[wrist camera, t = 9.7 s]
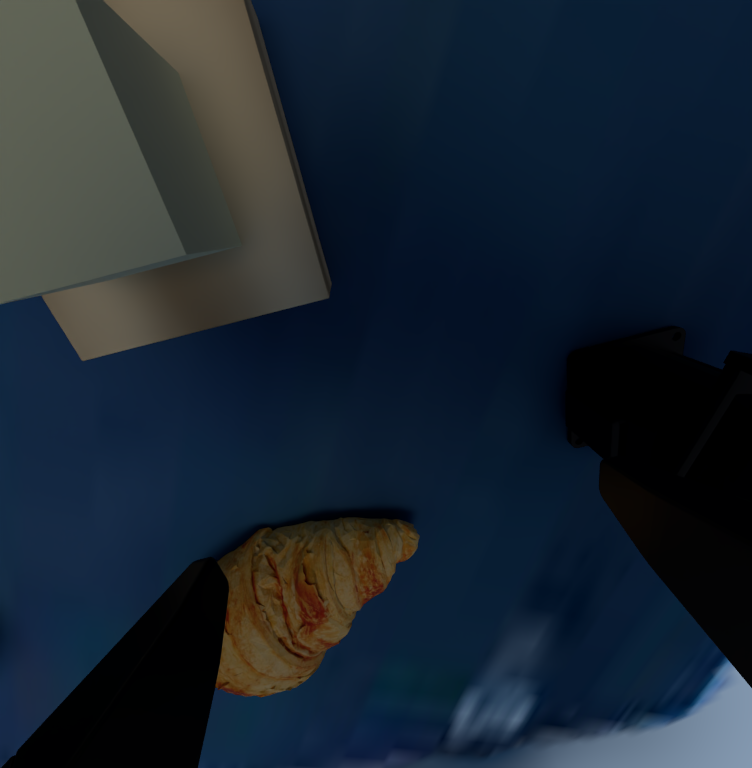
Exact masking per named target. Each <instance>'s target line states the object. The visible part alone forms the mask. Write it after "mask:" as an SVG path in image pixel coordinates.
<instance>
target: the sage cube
mask: <svg viewBox="0 0 752 768" xmlns="http://www.w3.org/2000/svg"><path fill="white" fill-rule="evenodd" d="M239 246H242V244H241V241H240V238H239V236H238V233H237V230H236V228H235V225H234V222H233V219H232V217H231V214H230V211H229V209H228V206H227V203H226V201H225V198H224V195H223V192H222V190H221V187H220V184H219V182H218V179H217V176H216V173H215V171H214V168H213V165H212V163H211V160H210V157H209V155H208V152H207V149H206V146H205V144H204V141H203V138H202V136H201V133H200V130H199V128H198V125H197V122H196V119H195V117H194V114H193V111H192V109H191V106H190V103H189V100H188V98H187V95H186V92H185V90H184V87H183V84H182V82H181V79H180V76H179V73H178V72H177V71H176V70H175V69H174V68H173V67H172V66H171V65H170V64H169V63H168V62H167V61H165V60H164V59H163V58H162V57H161V56H160V55H159V54H158V53H157V52H156V51H155V50H154V49H153V48H152V47H151V46H150V45H149V44H148V43H147V42H146V41H145V40H144V39H143V38H142V37H141V36H140V35H138V34H137V33H136V32H135V31H134V30H133V29H132V28H131V27H130V26H129V25H128V24H127V23H126V22H125V21H124V20H123V19H122V18H121V17H120V16H119V15H118V14H117V13H116V12H115V11H114V10H113V9H111V8H110V7H109V6H108V5H107V4H106V3H105V2H104V1H103V0H0V304H4V303H8V302H13V301H18V300H22V299H27V298H31V297H36V296H40V295H45V294H50V293H54V292H59V291H63V290H68V289H72V288H77V287H82V286H86V285H91V284H95V283H100V282H104V281H109V280H113V279H117V278H121V277H124V276H128V275H132V274H136V273H140V272H144V271H147V270H151V269H155V268H159V267H163V266H167V265H170V264H174V263H178V262H182V261H186V260H190V259H193V258H197V257H201V256H205V255H209V254H213V253H216V252H220V251H224V250H228V249H232V248H235V247H239Z"/></svg>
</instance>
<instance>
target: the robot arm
mask: <svg viewBox="0 0 752 768" xmlns="http://www.w3.org/2000/svg"><path fill="white" fill-rule="evenodd" d="M674 334H675V335H674ZM673 335H674V337H673ZM685 335H686V333H685V330H684V329H683V328H680V327H677V326H670V327H666V328H662V329H658V330H654V331H650V332H646V333H643V334H639V335H635V336H631V337H627V338H623V339H619V340H615V341H611V342H607V343H603V344H599V345H595V346H591V347H587V348H583V349H579V350H575V351H573V352H572V353H571V354H570V355H569V356H568V360H567V390H566V426H567V427H568V442H569V443H570V444H571V445H572V446H573V447H575V448H580V447H584V446H589V447H591V448H592V449H593V450H594V451H595V452H596V453H597V454H599V455H600V456H601V457H602V458H603V460H602V461H601V463H600V474H599V490H600V493H601V496H602V498H603V499H604V501H605V502H606V504H607V505H608V506H609V508H610V509H611V511H612V512H613V514H614V515H615V517H616V518H617V520H618V521H619V522H620V524H621V525H622V527H623V528H624V530H625V531H626V533H627V534H628V536H629V537H630V538H631V540H632V541H633V543H634V544H635V546H636V547H637V549H638V550H639V552H640V553H641V554H642V556H643V557H644V558H645V560H646V561H647V562H648V564H649V565H650V566H651V567H652V569H653V570H654V571H655V572H656V574H657V575H658V576H659V577H660V578H661V580H662V581H663V582H664V583H665V584H666V586H667V587H668V588H669V589H670V590H671V592H672V593H673V594H674V595H675V596H676V598H677V599H678V600H679V601H680V602H681V604H682V605H683V606H684V607H685V608H686V610H687V611H688V612H689V613H690V614H691V616H692V617H693V618H694V619H695V620H696V622H697V623H698V624H699V625H700V626H701V628H702V629H703V630H704V631H705V632H706V634H707V635H708V636H709V637H710V638H711V640H712V641H713V642H714V643H715V644H716V646H717V647H718V648H719V649H720V650H721V652H722V653H723V654H724V655H725V656H726V658H727V659H728V660H729V661H730V662H731V664H732V665H733V666H734V667H735V668H736V670H737V671H738V672H739V673H740V674H741V676H742V677H743V678H744V679H745V680H746V682H747V683H748V684H749V685H750V687H751V688H752V354H749V353H743V352H737V351H730V352H729V354H728V356H727V357H726V359H725V361H724V362H723V363H725V364H726V365H725V366H724V368H723V370H722V369H719V368H716V367H714V366H711V365H708V364H705V363H703V362H700V361H697V360H694V359H692V358H689V357H686V356H684V355H683V349H684V342H685ZM672 337H673V338H672ZM578 357H580V360H579V361H578V362H576V359H577V358H578ZM578 438H579V439H578ZM577 439H578V440H577ZM576 440H577V441H576ZM228 597H229V583H228V580H227V578H226V576H225V574H224V573H223V571H222V569H221V568H220V566H219V565H218V563H217V561H216V560H215V559H214V558H212V557H208V558H204V559H200V560H196V561H194V562H193V563H192V564H190V565H189V567H188V568H187V569H186V570H185V571H184V572H183V573H182V574H181V575H180V576H179V577H178V578H177V579H176V581H175V582H174V583H173V584H172V585H171V586H170V587H169V588H168V589H167V590H166V591H165V592H164V593H163V594H162V596H161V597H160V598H159V599H158V600H157V601H156V602H155V603H154V604H153V605H152V606H151V607H150V608H149V610H148V611H147V612H146V613H145V614H144V615H143V616H142V617H141V618H140V619H139V620H138V621H137V622H136V624H135V625H134V626H133V627H132V628H131V629H130V630H129V631H128V632H127V633H126V634H125V635H124V636H123V638H122V639H121V640H120V641H119V642H118V643H117V644H116V645H115V646H114V647H113V648H112V649H111V650H110V651H109V653H108V654H107V655H106V656H105V657H104V658H103V659H102V660H101V661H100V662H99V663H98V664H97V665H96V667H95V668H94V669H93V670H92V671H91V672H90V673H89V674H88V675H87V676H86V677H85V678H84V679H83V680H82V682H81V683H80V684H79V685H78V686H77V687H76V688H75V689H74V690H73V691H72V692H71V693H70V694H69V696H68V697H67V698H66V699H65V700H64V701H63V702H62V703H61V704H60V705H59V706H58V707H57V708H56V709H55V711H54V712H53V713H52V714H51V715H50V716H49V717H48V718H47V719H46V720H45V721H44V722H43V723H42V725H41V726H40V727H39V728H38V729H37V730H36V731H35V732H34V733H33V734H32V735H31V736H30V737H29V738H28V740H27V741H26V742H25V743H24V744H23V745H22V746H21V747H20V748H19V749H18V751H17V753H16V755H14V756H12V757H11V758H10V759H9V760H8V761H7V762H6V763H5V764H4V765H3V766H2V767H1V768H198V764H199V759H200V755H201V750H202V746H203V741H204V737H205V732H206V727H207V723H208V718H209V714H210V709H211V704H212V700H213V695H214V691H215V686H216V681H217V676H218V671H219V666H220V660H221V653H222V645H223V637H224V629H225V621H226V613H227V605H228Z"/></svg>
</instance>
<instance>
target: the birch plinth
mask: <svg viewBox="0 0 752 768" xmlns="http://www.w3.org/2000/svg"><path fill="white" fill-rule="evenodd" d="M103 1H104V2H105V3H106V4H107V5H108V6H109V7H110V8H111V9H113V10H114V11H115V12H116V13H117V14H118V15H119V16H120V17H121V18H122V19H123V20H124V21H125V22H126V23H127V24H128V25H129V26H130V27H131V28H132V29H133V30H134V31H135V32H136V33H137V34H138V35H140V36H141V37H142V38H143V39H144V40H145V41H146V42H147V43H148V44H149V45H150V46H151V47H152V48H153V49H154V50H155V51H156V52H157V53H158V54H159V55H160V56H161V57H162V58H163V59H164V60H165V61H167V62H168V63H169V64H170V65H171V66H172V67H173V68H174V69H175V70H176V71H177V72H178V73H179V76H180V79H181V82H182V84H183V87H184V90H185V92H186V95H187V98H188V100H189V103H190V106H191V109H192V111H193V114H194V117H195V119H196V122H197V125H198V128H199V130H200V133H201V136H202V138H203V141H204V144H205V146H206V149H207V152H208V155H209V157H210V160H211V163H212V165H213V168H214V171H215V173H216V176H217V179H218V182H219V184H220V187H221V190H222V192H223V195H224V198H225V201H226V203H227V206H228V209H229V211H230V214H231V217H232V219H233V222H234V225H235V228H236V230H237V233H238V236H239V238H240V241H241V244H242V246H239V247H235V248H232V249H228V250H224V251H220V252H216V253H213V254H209V255H205V256H201V257H197V258H193V259H190V260H186V261H182V262H178V263H174V264H170V265H167V266H163V267H159V268H155V269H151V270H147V271H144V272H140V273H136V274H132V275H128V276H124V277H121V278H117V279H113V280H109V281H104V282H100V283H95V284H91V285H86V286H82V287H77V288H72V289H68V290H63V291H59V292H54V293H50V294H45V295H41V296H42V298H43V299H44V301H45V302H46V304H47V306H48V307H49V309H50V310H51V312H52V314H53V315H54V317H55V318H56V320H57V321H58V323H59V325H60V326H61V328H62V329H63V331H64V333H65V334H66V336H67V337H68V339H69V341H70V342H71V344H72V345H73V347H74V349H75V350H76V352H77V353H78V355H79V357H80V358H81V360H82V361H84V360H88V359H92V358H96V357H100V356H104V355H108V354H112V353H116V352H120V351H124V350H128V349H131V348H135V347H139V346H143V345H147V344H151V343H155V342H159V341H163V340H167V339H171V338H175V337H178V336H182V335H186V334H190V333H194V332H198V331H202V330H206V329H210V328H214V327H218V326H222V325H225V324H229V323H233V322H237V321H241V320H245V319H249V318H253V317H257V316H261V315H265V314H268V313H272V312H276V311H280V310H284V309H288V308H292V307H296V306H300V305H304V304H308V303H312V302H315V301H319V300H323V299H327V298H329V296H330V290H331V285H332V283H331V279H330V276H329V272H328V269H327V265H326V262H325V258H324V254H323V251H322V247H321V244H320V240H319V236H318V233H317V229H316V226H315V222H314V219H313V215H312V211H311V208H310V204H309V201H308V197H307V194H306V190H305V186H304V183H303V179H302V176H301V172H300V168H299V165H298V161H297V158H296V154H295V151H294V147H293V143H292V140H291V136H290V133H289V129H288V125H287V122H286V118H285V115H284V111H283V108H282V104H281V100H280V97H279V93H278V90H277V86H276V82H275V79H274V75H273V72H272V68H271V65H270V61H269V57H268V54H267V50H266V47H265V43H264V39H263V36H262V32H261V29H260V25H259V22H258V18H257V15H256V13H255V10H254V8H253V5H252V3H251V0H103Z"/></svg>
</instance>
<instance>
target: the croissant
mask: <svg viewBox="0 0 752 768" xmlns="http://www.w3.org/2000/svg"><path fill="white" fill-rule="evenodd" d="M419 536H420V535H418V534H417V531H416V529H414V528H413V524H410V523H408V522H405V521H402V520H399V519H394V520H390V519H386V518H383V519H368V518H359V517H346V518H341V517H340V518H339V519H335V520H328V521H325V520H322V521H316V522H315V521H308V522H305V523H301V524H297V525H292V526H285V527H281V528H277V529H275V530H274V531H272V529H271V528H269V527H268V528H263V529H259V530H258V531H256V532H255V533H254V534H253V535H252V536H251V537H250V538H249V539H248V540H247V541H246V542H245V543H244V544H242V545H241V546H239V547H238V548H237V549H236V550H235V551H232V552H229V553H228V554H226V555H225V556H224V557H222V558H221V559H220V560H219V561H218V562H217V563H218V565H219V566H220V568H221V569H222V571H223V573H224V574H225V576H226V578H227V580H228V583H229V597H228V605H227V613H226V621H225V629H224V637H223V645H222V653H221V660H220V666H219V671H218V676H217V681H216V686H215V688H218V690H219V689H223V690H224V691H226V692H227V693H233V694H235V695H242V696H254V695H256V696H259V697H264V696H268V695H271V694H274V693H276V692H282V691H285V690H291V689H292V688H296V687H297V686H298V685H300V684H301V683H303V682H304V681H306V680H307V679H308V678H309V677H310V676H311V675H312V674H313V673H314V672H315V671H316V670H317V669H318V667H319V665H320V663H321V661H322V659H323V657H324V655H325V652H326V650H327V649H329V648H330V647H332V646H334V645H336V644H338V643H340V640H341V639H342V638H343V637H344V636H346V635H347V633H348V631H349V629H350V628H351V626H352V620H353V619H354V618H355V614H356V611H358V610H360V609H361V607H362V606H363V604H365V603H366V602H367V601H369V600H370V599H371V598H373V597H374V596H376V595H378V594H380V593H382V592H383V591H384V590H385V589H386V587H387V585H388V583H389V582H390V580H391V576H392V575H393V574H394V573H395V567H396V563H398V562H402V561H405V560H407V559H409V558H410V557H411V556H412V555H413V554H414V552H415V551H416V549H417V548H418V540H419Z"/></svg>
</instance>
